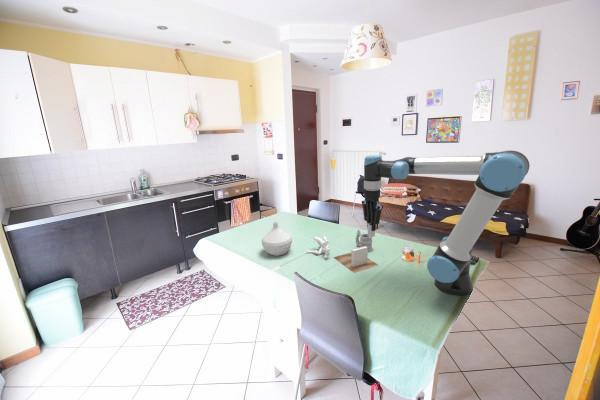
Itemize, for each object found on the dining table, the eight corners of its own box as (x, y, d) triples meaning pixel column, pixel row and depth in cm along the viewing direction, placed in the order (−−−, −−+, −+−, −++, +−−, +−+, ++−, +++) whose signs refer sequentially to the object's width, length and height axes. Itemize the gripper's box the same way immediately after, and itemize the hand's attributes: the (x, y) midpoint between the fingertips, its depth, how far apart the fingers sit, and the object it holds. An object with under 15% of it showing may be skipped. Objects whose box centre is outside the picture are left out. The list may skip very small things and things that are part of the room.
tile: (367, 262, 150) (367, 247, 147) (353, 266, 146) (353, 251, 144) (365, 261, 151) (365, 246, 149) (351, 265, 148) (351, 249, 145)
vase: (298, 250, 171) (297, 221, 166) (276, 262, 158) (274, 230, 153) (278, 243, 183) (276, 215, 178) (256, 253, 170) (253, 223, 165)
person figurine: (304, 235, 167) (326, 237, 154) (318, 233, 175) (341, 235, 162) (304, 257, 166) (327, 261, 153) (319, 254, 175) (341, 258, 162)
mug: (366, 255, 161) (366, 235, 158) (351, 248, 170) (351, 230, 167) (375, 251, 165) (375, 232, 162) (360, 245, 174) (360, 227, 171)
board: (378, 267, 147) (378, 265, 146) (353, 275, 140) (353, 272, 140) (356, 252, 164) (356, 251, 164) (332, 259, 158) (332, 257, 158)
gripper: (388, 190, 125) (387, 239, 131) (369, 185, 137) (368, 230, 143) (375, 192, 122) (374, 242, 128) (356, 187, 134) (356, 233, 140)
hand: (371, 236), depth 136 cm, fingers closed
